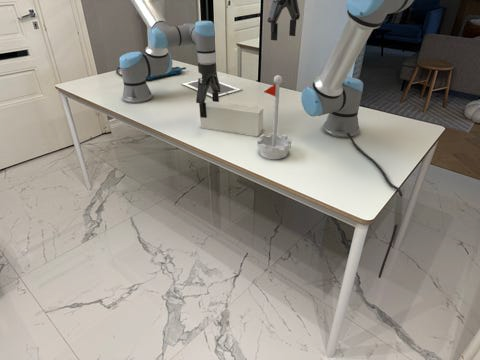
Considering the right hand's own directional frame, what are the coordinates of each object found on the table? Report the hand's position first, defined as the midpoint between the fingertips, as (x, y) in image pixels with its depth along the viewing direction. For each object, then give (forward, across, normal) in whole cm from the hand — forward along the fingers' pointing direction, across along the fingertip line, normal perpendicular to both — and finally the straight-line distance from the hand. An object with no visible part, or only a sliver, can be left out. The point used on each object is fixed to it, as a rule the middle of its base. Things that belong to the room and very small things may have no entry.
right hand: (283, 38), depth 147 cm
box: (+35, +28, -6) cm, 45 cm away
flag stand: (+36, +33, +21) cm, 53 cm away
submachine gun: (+32, -4, -101) cm, 106 cm away
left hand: (+28, +31, -16) cm, 45 cm away
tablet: (+34, -8, -55) cm, 65 cm away
